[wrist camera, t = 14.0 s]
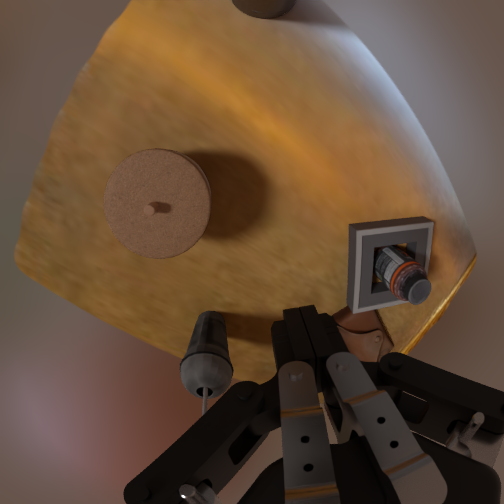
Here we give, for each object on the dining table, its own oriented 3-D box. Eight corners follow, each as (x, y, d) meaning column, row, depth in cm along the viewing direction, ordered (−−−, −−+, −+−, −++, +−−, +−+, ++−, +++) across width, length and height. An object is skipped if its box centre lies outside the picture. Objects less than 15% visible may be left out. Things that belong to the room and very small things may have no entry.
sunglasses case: (397, 347, 53) (394, 374, 48) (367, 352, 57) (363, 378, 53) (366, 290, 47) (362, 320, 42) (331, 299, 51) (324, 328, 47)
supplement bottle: (406, 254, 45) (443, 285, 34) (385, 281, 47) (417, 317, 36) (385, 236, 43) (423, 265, 33) (363, 265, 45) (395, 300, 35)
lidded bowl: (114, 172, 37) (78, 185, 27) (192, 130, 36) (176, 127, 26) (153, 247, 42) (131, 282, 32) (230, 212, 41) (229, 239, 30)
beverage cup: (185, 333, 48) (167, 428, 29) (194, 298, 45) (175, 395, 27) (226, 342, 49) (225, 439, 31) (238, 309, 47) (242, 409, 28)
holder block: (348, 224, 42) (357, 231, 39) (422, 216, 42) (433, 222, 39) (346, 303, 48) (353, 313, 44) (414, 289, 48) (423, 298, 45)
